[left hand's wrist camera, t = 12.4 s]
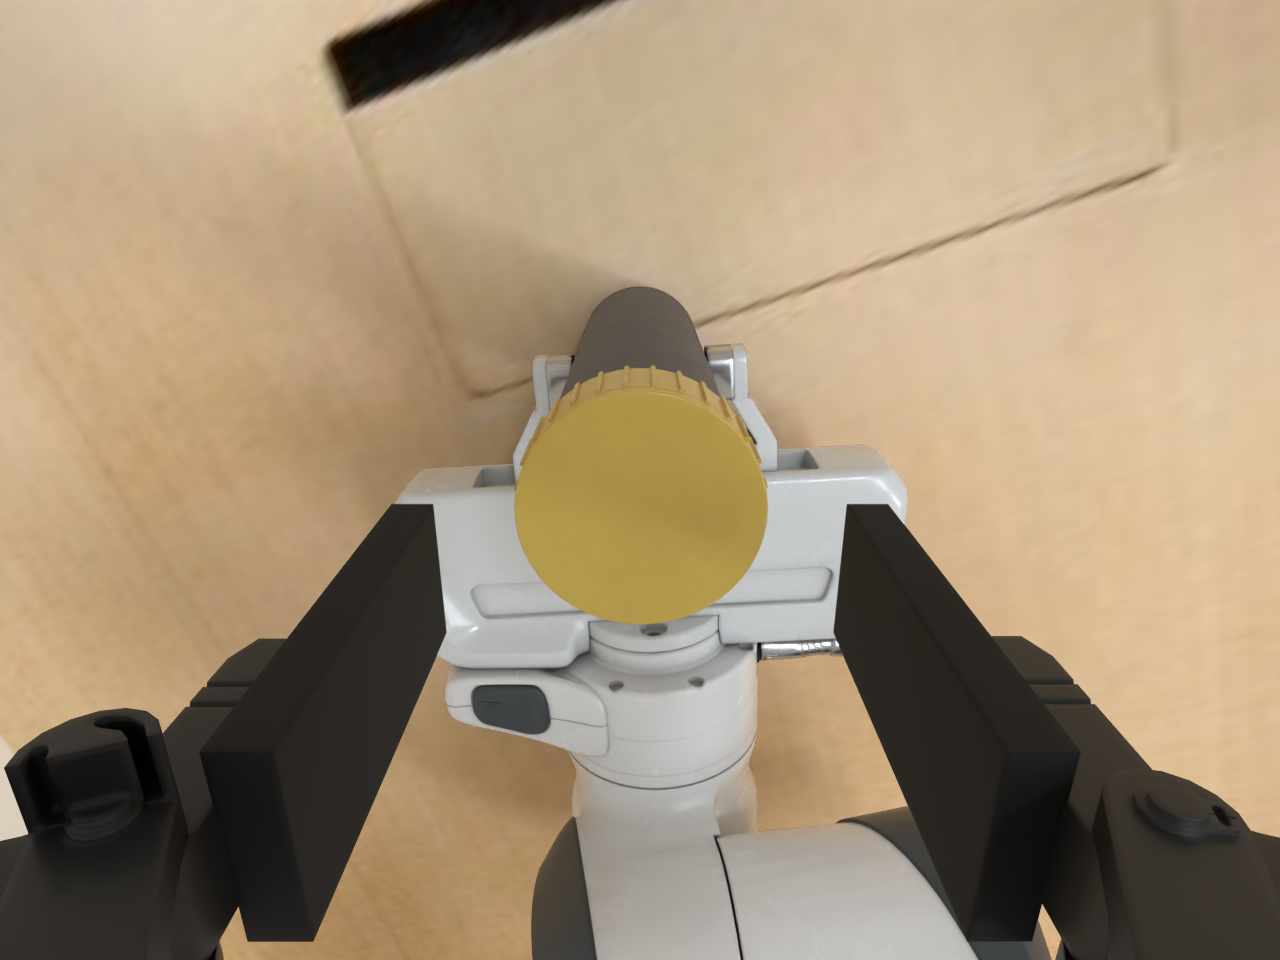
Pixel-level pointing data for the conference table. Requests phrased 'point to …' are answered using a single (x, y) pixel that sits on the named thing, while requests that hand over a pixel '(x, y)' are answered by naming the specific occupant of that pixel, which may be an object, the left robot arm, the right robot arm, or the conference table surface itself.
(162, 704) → the conference table surface
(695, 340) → the dark grey cylinder
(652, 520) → the lid
